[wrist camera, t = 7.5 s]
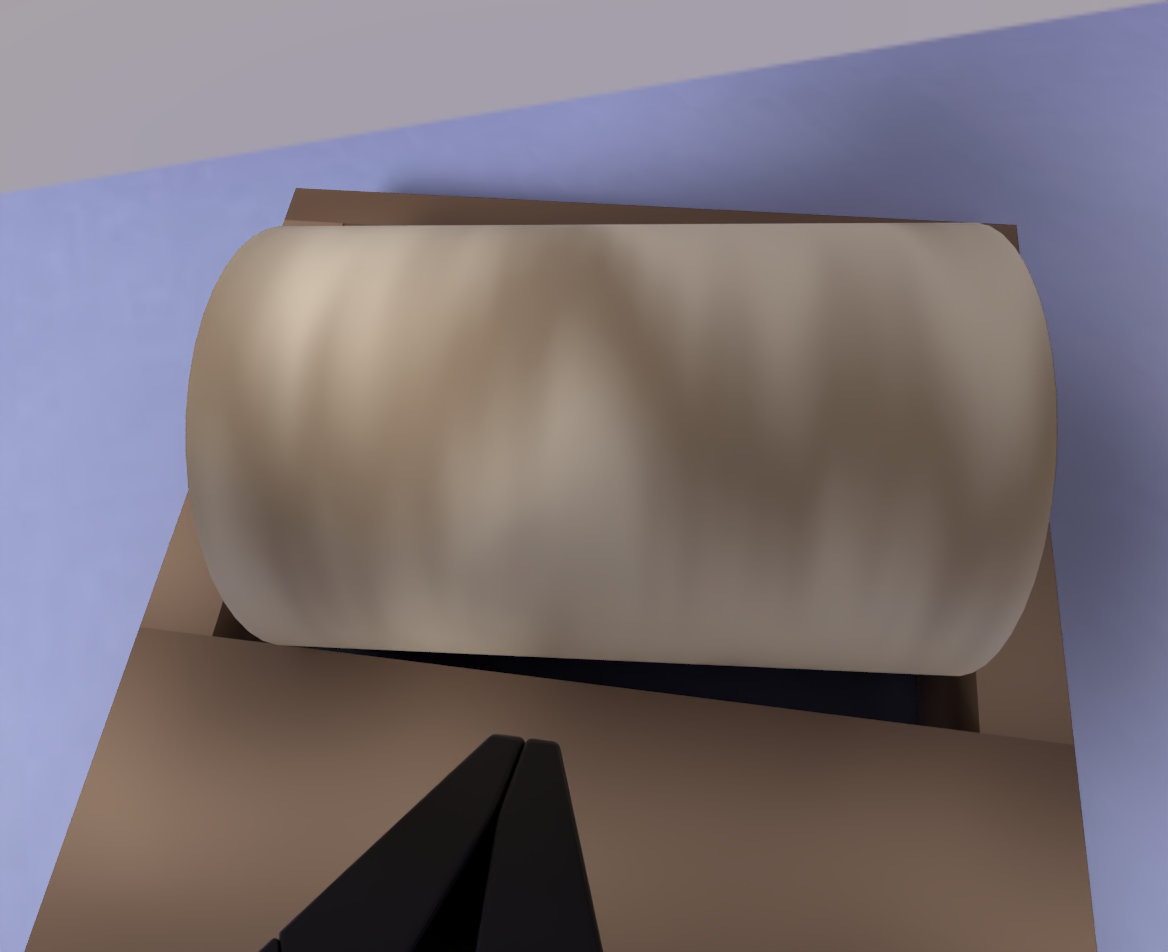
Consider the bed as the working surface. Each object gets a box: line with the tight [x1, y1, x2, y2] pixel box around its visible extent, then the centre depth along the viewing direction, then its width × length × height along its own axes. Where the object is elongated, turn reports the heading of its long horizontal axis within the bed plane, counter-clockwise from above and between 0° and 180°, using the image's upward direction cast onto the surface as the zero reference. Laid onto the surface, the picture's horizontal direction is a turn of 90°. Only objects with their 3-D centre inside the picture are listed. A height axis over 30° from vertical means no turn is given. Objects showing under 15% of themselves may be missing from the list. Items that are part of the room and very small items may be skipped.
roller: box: [186, 223, 1057, 676], centre depth 14 cm, size 8×12×8 cm, turn 87°
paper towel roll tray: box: [25, 188, 1097, 952], centre depth 15 cm, size 23×17×3 cm
